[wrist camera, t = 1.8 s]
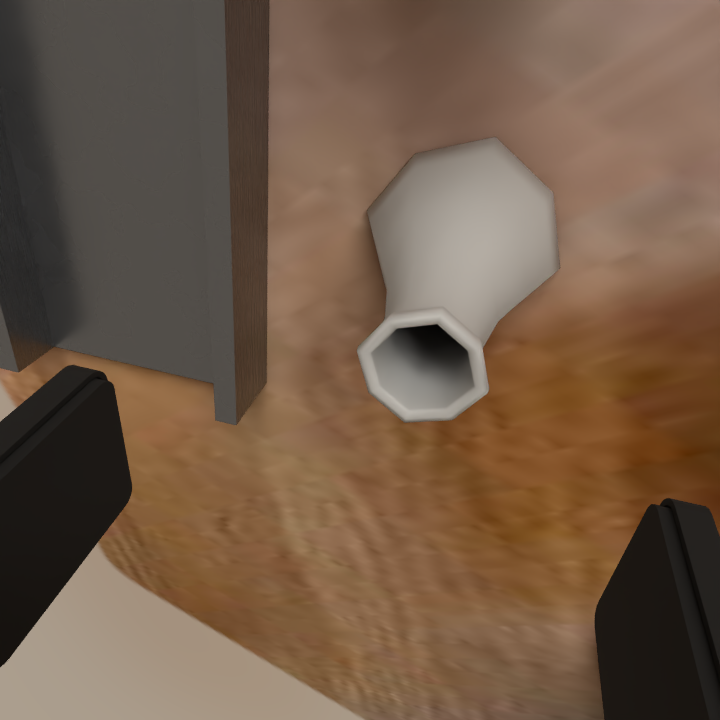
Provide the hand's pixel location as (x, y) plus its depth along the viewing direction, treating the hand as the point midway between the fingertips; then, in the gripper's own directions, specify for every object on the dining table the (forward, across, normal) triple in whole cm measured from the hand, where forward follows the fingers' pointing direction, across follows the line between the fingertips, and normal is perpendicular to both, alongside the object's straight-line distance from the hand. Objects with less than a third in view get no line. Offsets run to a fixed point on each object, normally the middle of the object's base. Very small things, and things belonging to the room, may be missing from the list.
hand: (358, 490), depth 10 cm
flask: (+15, -1, +1) cm, 15 cm away
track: (+15, +13, 0) cm, 20 cm away
